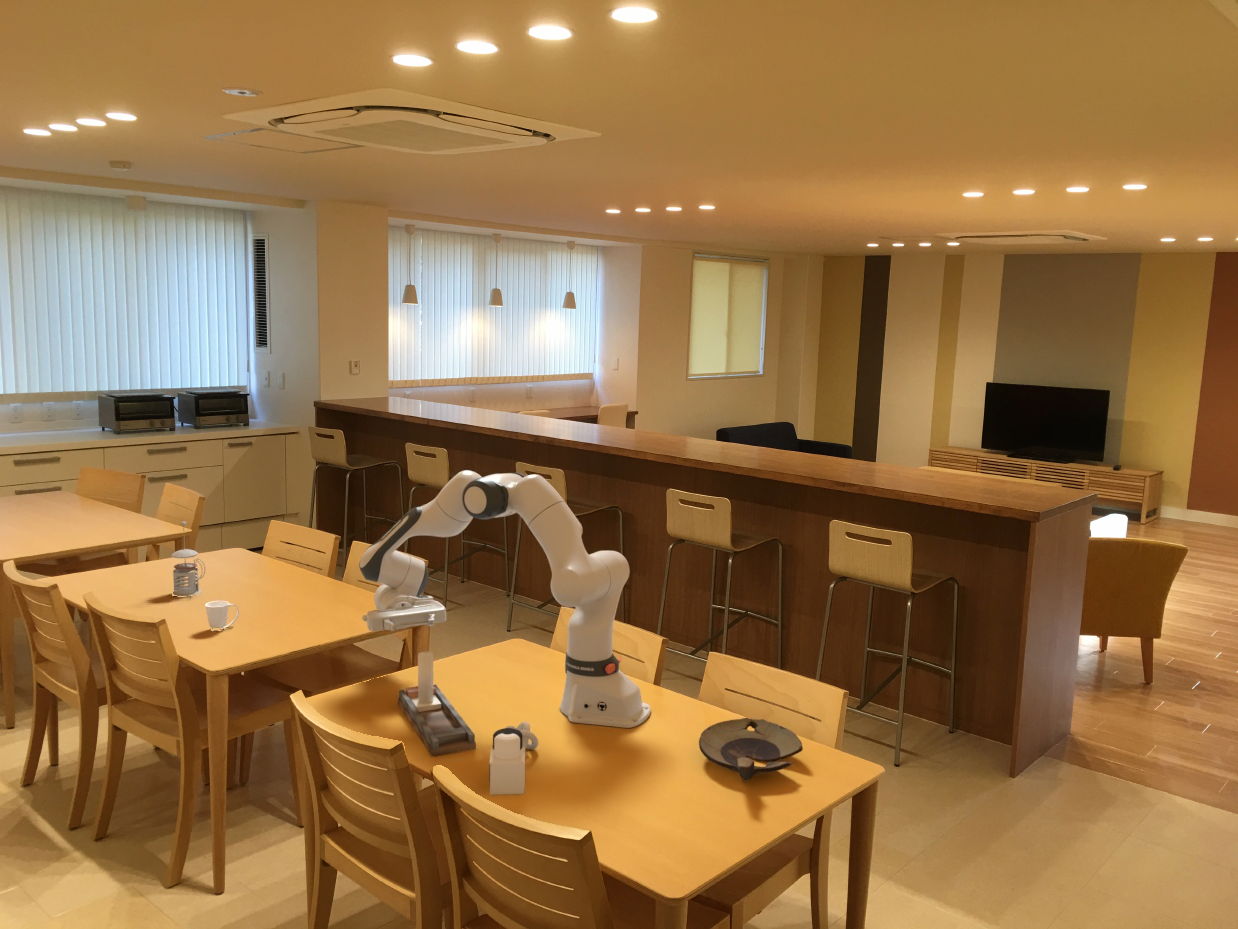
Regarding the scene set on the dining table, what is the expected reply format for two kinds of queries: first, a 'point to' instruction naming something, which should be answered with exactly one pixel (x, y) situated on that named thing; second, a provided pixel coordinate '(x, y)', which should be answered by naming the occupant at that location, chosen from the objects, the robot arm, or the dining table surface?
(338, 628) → the dining table surface
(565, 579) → the robot arm
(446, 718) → the slot track
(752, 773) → the dark grey shallow dish
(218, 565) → the dining table surface
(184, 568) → the french press
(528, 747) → the knot
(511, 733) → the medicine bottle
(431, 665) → the post
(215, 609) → the cup
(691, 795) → the dining table surface
